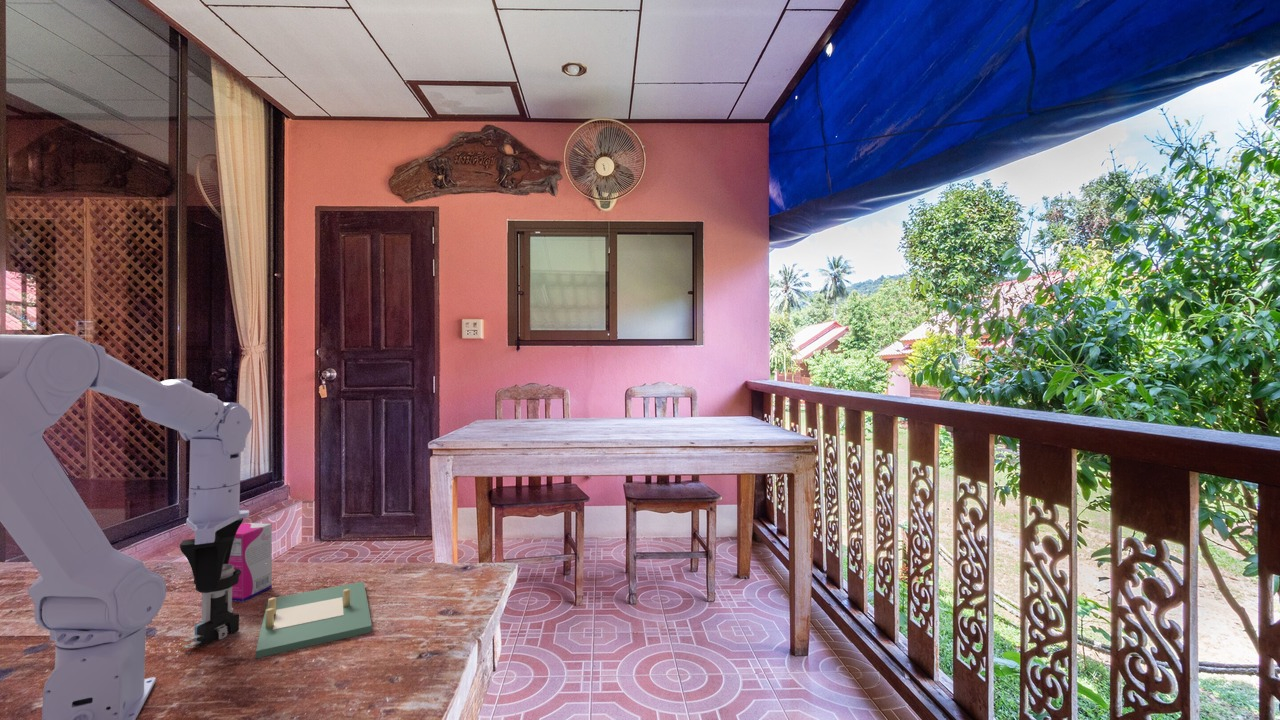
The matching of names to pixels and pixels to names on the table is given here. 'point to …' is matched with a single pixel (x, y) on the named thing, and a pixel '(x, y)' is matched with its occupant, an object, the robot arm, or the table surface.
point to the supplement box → (252, 560)
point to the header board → (313, 618)
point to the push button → (217, 610)
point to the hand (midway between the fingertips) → (213, 578)
